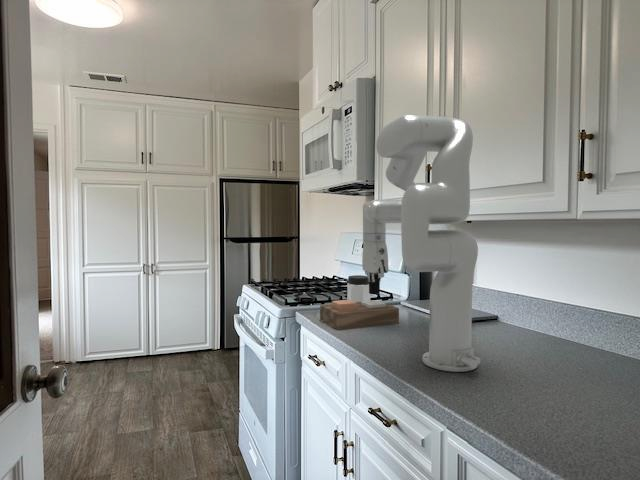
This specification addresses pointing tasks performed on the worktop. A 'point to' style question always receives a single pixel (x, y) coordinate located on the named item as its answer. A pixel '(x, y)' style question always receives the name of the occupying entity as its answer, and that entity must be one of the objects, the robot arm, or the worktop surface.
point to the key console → (359, 316)
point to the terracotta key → (344, 305)
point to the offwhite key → (373, 304)
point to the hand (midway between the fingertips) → (374, 293)
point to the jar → (358, 288)
